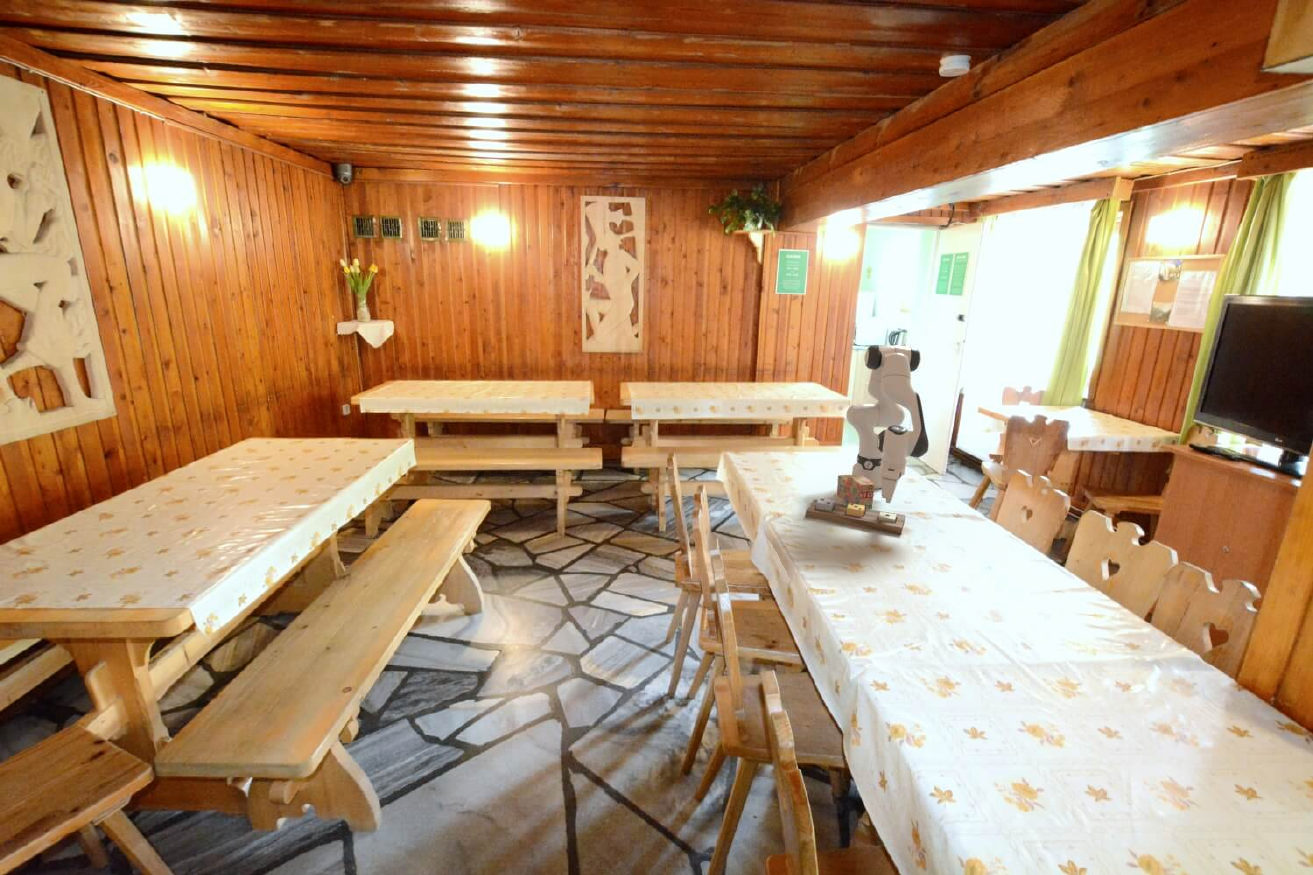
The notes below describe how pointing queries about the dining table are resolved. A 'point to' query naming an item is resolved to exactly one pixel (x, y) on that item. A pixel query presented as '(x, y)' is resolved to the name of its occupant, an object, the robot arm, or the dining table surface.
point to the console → (856, 518)
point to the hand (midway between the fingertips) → (888, 501)
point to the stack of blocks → (856, 490)
